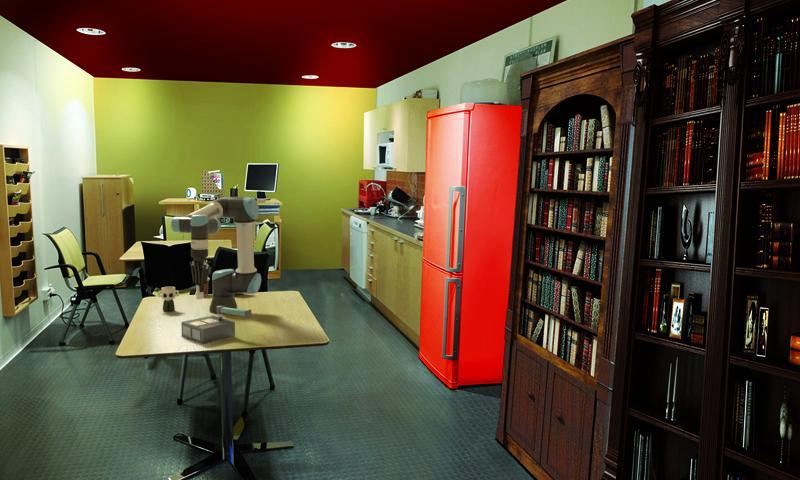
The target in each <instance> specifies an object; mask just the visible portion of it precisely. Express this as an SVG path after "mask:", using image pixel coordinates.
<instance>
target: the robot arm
mask: <svg viewBox="0 0 800 480" xmlns="http://www.w3.org/2000/svg"><path fill="white" fill-rule="evenodd" d="M259 215H260V207H259V204H258V202H257V200H256V199H255V198H254V197H249V196H223V197H220V198H217V199H214V200H211V201H209V202H208V203H207V205H206V206H204V207H202V208H199V209H198V210H197V209H196V210H195V211H193V212H191V213H189V214H187V215H184V216H174V217H172V219H171V222H170V228H171V230H172V232H173V233H174V232H175V233H180V234H181V233H182V234H190V247H191V249H190V256H191V258H193V259H192V261H190V262H189V265H190V270H191V276H192V279H191V280H192V283H193V284H195V291H196V292H195V295H196V296H195V297H196V300H204V296H203V292H204V284H207V278H208V277H209V270H210V268H211V265H210V264H208V263H207V258H208V257H209V235H213V234H215V233H216V234H217V233H218V232H219V231H221V227H222V223H221V221H220V220H219V219H220V218H221V219H223V218H224V219H225V218H226V219H227V218H228V219H233V224H234V225H236V226H235V227H236V249H237V268H236V269H233V268H228V269H227V268H225V269H220V270H216V271H214V272H213V273H212V278H211V282H212V298H211V302H210V305H209V310H208V311H209V313H211V314H218V313H217V306H224V307H227V308H234V309H238V304H237V301H236V299H235V295H234V293H241V294H244V295H245V294H247V295H255V294H257V293H258V292H259V290H260V288H261V284H262V276H261V273H258V269H257V268H256V267H255V259H254V257H255V256H254V255H255V254H254V226H253V225H254V224H255V223H256V220H257V219H258V218H259ZM223 314H225V313H223Z"/></svg>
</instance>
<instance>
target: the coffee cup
mask: <svg viewBox="0 0 800 480" xmlns="http://www.w3.org/2000/svg"><path fill="white" fill-rule="evenodd" d="M210 280H211V279H210V277H209V276H208V278H207V284H204V292H203V297H204V296H208V293H209V283H210V282H209V281H210Z"/></svg>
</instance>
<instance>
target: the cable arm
mask: <svg viewBox="0 0 800 480" xmlns="http://www.w3.org/2000/svg"><path fill="white" fill-rule="evenodd" d="M218 313H224V314H230V315H235V316H240V317H244V318H245V319H248V318H251V317H252V309H247V310H246V309H239V308H237V309H234V308H227V307H224V306H217V313H216V314H218Z"/></svg>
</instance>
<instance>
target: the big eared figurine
mask: <svg viewBox="0 0 800 480" xmlns="http://www.w3.org/2000/svg"><path fill="white" fill-rule="evenodd" d="M179 296H180V291H179V290H176V287H175V286H164V287H161V290H159V291H157V297H158V298H161V299H162V300H163V301H162V302H163V305H162V310H163V311H165V312H167V311H169V312H172V311H174V310H175V309H176V307H175V306H176V305H175V302H174V300H175V298H176V297H179Z"/></svg>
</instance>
